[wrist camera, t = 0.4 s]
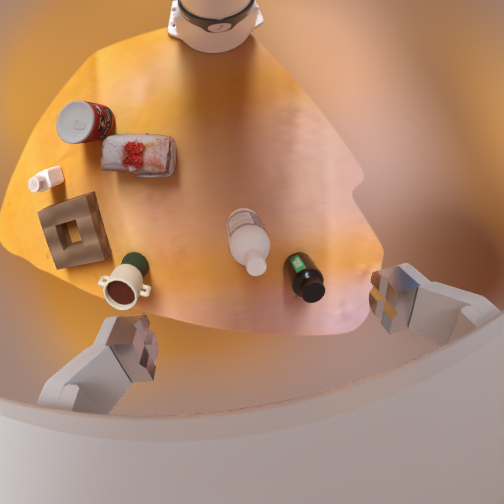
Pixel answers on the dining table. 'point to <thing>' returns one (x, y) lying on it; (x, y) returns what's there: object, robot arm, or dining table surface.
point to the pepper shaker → (46, 179)
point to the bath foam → (248, 240)
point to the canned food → (84, 122)
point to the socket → (89, 228)
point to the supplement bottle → (304, 277)
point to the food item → (139, 154)
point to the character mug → (126, 282)
